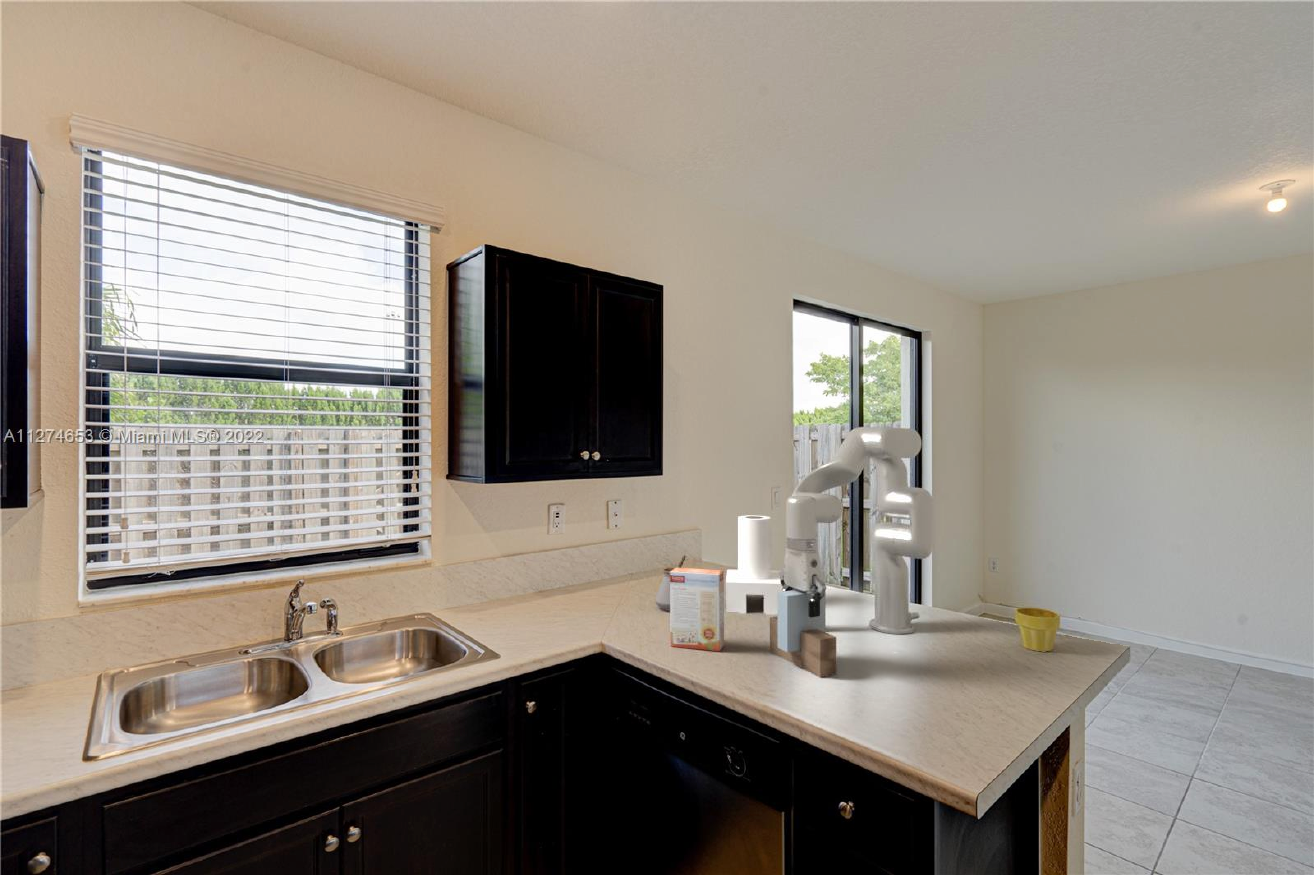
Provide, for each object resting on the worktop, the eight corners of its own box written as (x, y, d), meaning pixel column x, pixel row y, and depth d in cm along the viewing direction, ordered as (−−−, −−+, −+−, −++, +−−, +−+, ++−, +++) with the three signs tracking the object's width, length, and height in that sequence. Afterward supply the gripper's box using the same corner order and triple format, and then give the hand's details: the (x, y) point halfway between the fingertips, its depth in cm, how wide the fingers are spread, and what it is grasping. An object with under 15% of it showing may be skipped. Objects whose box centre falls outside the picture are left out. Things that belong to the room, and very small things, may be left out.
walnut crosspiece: (784, 648, 167) (784, 615, 167) (836, 674, 149) (836, 637, 149) (769, 651, 165) (769, 617, 165) (820, 677, 147) (820, 640, 147)
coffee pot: (683, 614, 198) (683, 568, 198) (649, 611, 202) (649, 565, 202) (701, 598, 218) (701, 555, 218) (670, 595, 222) (670, 553, 222)
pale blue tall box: (814, 640, 161) (814, 587, 161) (825, 645, 158) (825, 590, 157) (777, 647, 156) (777, 592, 156) (787, 652, 152) (787, 596, 152)
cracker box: (724, 645, 169) (724, 569, 169) (719, 652, 164) (719, 574, 163) (676, 639, 174) (676, 566, 174) (669, 646, 168) (669, 570, 168)
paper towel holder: (727, 597, 219) (727, 513, 219) (780, 599, 216) (780, 514, 216) (725, 612, 200) (725, 520, 200) (784, 614, 198) (784, 521, 197)
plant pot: (1012, 649, 166) (1012, 613, 166) (1017, 639, 174) (1017, 604, 174) (1058, 657, 159) (1058, 620, 159) (1061, 646, 168) (1061, 610, 168)
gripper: (836, 549, 150) (836, 618, 151) (791, 538, 166) (791, 601, 166) (812, 551, 147) (812, 623, 147) (768, 540, 163) (769, 604, 163)
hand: (801, 611), depth 157 cm, fingers open, 9 cm apart
